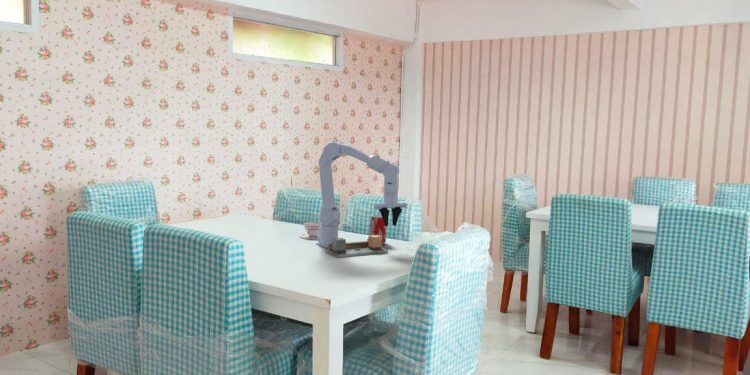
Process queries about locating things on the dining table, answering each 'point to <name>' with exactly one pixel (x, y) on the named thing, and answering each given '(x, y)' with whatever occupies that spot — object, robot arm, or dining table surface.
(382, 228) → the soda can
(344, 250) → the fixed leg
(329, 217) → the robot arm
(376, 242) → the block
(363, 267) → the dining table surface
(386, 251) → the plate
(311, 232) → the teacup
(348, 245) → the rail
